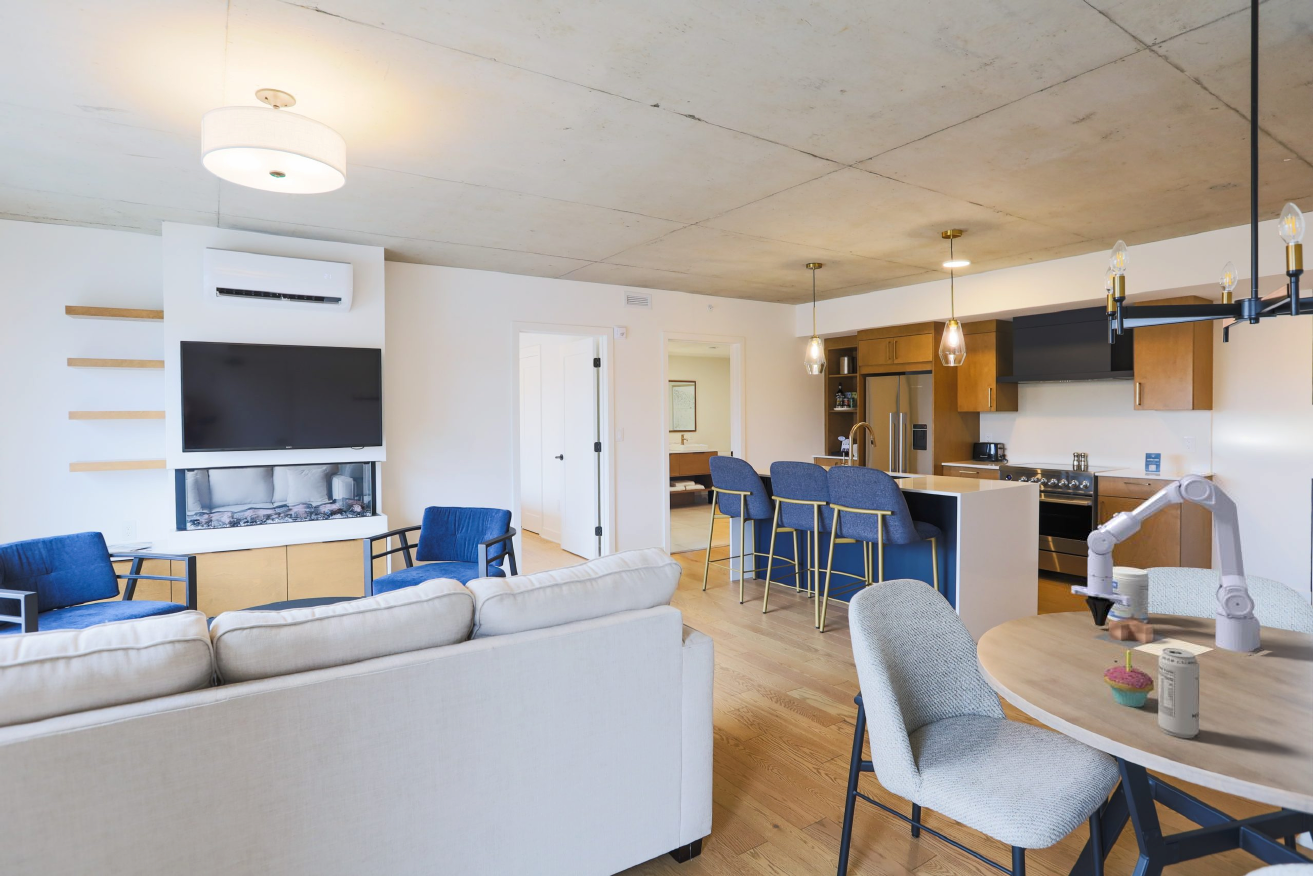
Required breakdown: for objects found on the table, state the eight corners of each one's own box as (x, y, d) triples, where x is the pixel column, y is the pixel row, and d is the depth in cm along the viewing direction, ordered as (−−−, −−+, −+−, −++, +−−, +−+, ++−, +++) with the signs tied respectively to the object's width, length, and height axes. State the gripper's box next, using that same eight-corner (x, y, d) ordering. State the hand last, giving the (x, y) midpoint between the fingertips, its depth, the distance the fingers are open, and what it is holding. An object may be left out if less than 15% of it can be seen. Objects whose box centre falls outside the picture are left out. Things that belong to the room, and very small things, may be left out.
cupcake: (1155, 714, 135) (1156, 654, 135) (1104, 705, 140) (1104, 647, 139) (1152, 698, 142) (1152, 641, 142) (1103, 690, 147) (1103, 635, 146)
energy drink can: (1203, 742, 124) (1204, 660, 123) (1163, 736, 126) (1163, 655, 126) (1193, 728, 129) (1193, 649, 129) (1154, 722, 132) (1154, 645, 131)
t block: (1108, 637, 178) (1108, 622, 178) (1131, 631, 183) (1131, 616, 182) (1137, 645, 172) (1137, 629, 172) (1160, 639, 176) (1160, 623, 176)
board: (1127, 630, 186) (1127, 627, 186) (1214, 652, 168) (1214, 649, 168) (1091, 639, 179) (1091, 636, 179) (1178, 664, 161) (1178, 660, 161)
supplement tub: (1101, 621, 195) (1101, 569, 194) (1114, 614, 201) (1114, 564, 200) (1141, 629, 187) (1141, 575, 187) (1153, 622, 193) (1153, 570, 192)
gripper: (1064, 571, 189) (1064, 620, 190) (1119, 582, 176) (1119, 635, 177) (1080, 568, 192) (1080, 616, 193) (1135, 579, 179) (1135, 630, 180)
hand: (1100, 625), depth 185 cm, fingers closed
